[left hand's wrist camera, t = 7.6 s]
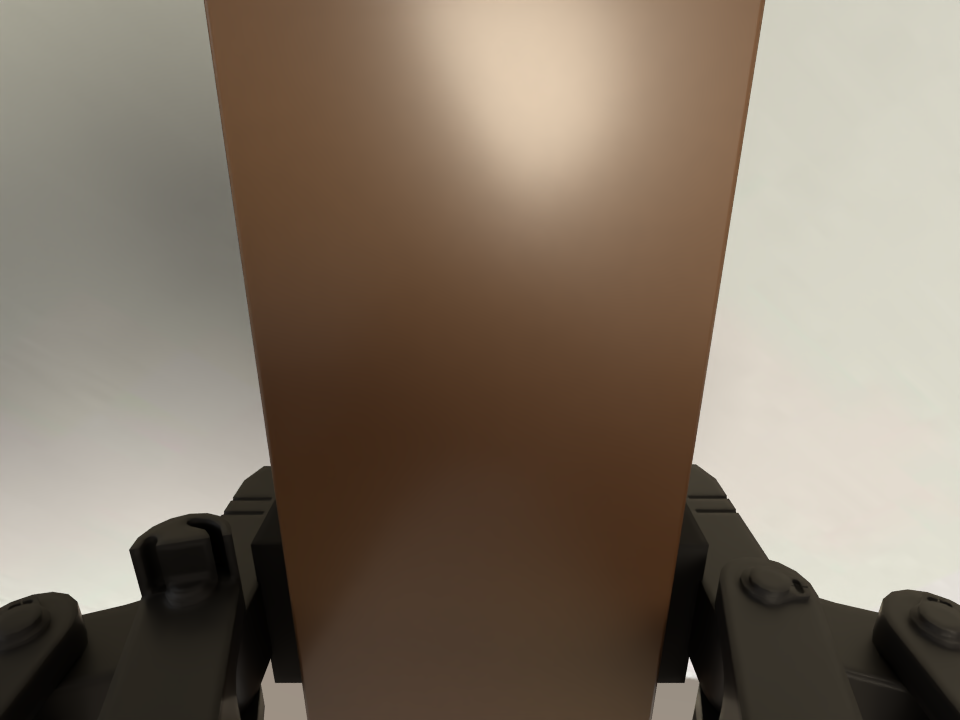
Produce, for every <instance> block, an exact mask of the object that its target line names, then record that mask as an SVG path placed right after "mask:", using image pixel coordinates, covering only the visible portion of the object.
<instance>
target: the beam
mask: <svg viewBox="0 0 960 720" xmlns="http://www.w3.org/2000/svg"><path fill="white" fill-rule="evenodd" d="M204 4H205V11H206V18H207V25H208V32H209V39H210V46H211V53H212V60H213V67H214V74H215V81H216V88H217V95H218V102H219V109H220V115H221V122H222V129H223V136H224V143H225V150H226V157H227V164H228V171H229V178H230V185H231V192H232V199H233V206H234V213H235V220H236V227H237V234H238V241H239V247H240V254H241V261H242V268H243V275H244V282H245V289H246V296H247V303H248V310H249V317H250V324H251V331H252V338H253V345H254V352H255V359H256V366H257V373H258V379H259V386H260V393H261V400H262V407H263V414H264V421H265V428H266V435H267V442H268V449H269V456H270V463H271V470H272V477H273V484H274V491H275V498H276V505H277V511H278V518H279V525H280V532H281V539H282V546H283V553H284V560H285V567H286V574H287V581H288V588H289V595H290V602H291V609H292V616H293V623H294V630H295V637H296V643H297V650H298V657H299V664H300V671H301V678H302V685H303V692H304V699H305V706H306V713H307V720H651V719H652V712H653V706H654V700H655V693H656V687H657V681H658V675H659V668H660V662H661V656H662V649H663V643H664V637H665V630H666V624H667V618H668V611H669V605H670V599H671V592H672V586H673V580H674V573H675V567H676V561H677V555H678V548H679V542H680V536H681V529H682V523H683V517H684V510H685V504H686V498H687V491H688V485H689V479H690V472H691V466H692V460H693V453H694V447H695V441H696V434H697V428H698V422H699V416H700V409H701V403H702V397H703V390H704V384H705V378H706V371H707V365H708V359H709V352H710V346H711V340H712V333H713V327H714V321H715V314H716V308H717V302H718V295H719V289H720V283H721V276H722V270H723V264H724V258H725V251H726V245H727V239H728V232H729V226H730V220H731V213H732V207H733V201H734V194H735V188H736V182H737V175H738V169H739V163H740V156H741V150H742V144H743V137H744V131H745V125H746V119H747V112H748V106H749V100H750V93H751V87H752V81H753V74H754V68H755V62H756V55H757V49H758V43H759V36H760V30H761V24H762V17H763V11H764V5H765V0H204Z"/></svg>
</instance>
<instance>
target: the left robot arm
mask: <svg viewBox="0 0 960 720" xmlns="http://www.w3.org/2000/svg"><path fill="white" fill-rule="evenodd" d="M129 551H130V555H131V558H132V562H133V566H134V569H135V573H136V577H137V580H138V584H139V588H140V591H141V595H142V598H141V600H140V601H137V602H134V603H130V604H127V605H123V606H119V607H115V608H110V609H106V610H101V611H97V612H93V613H88V614H84V615H81V611H80V608H79V605H78V602H77V601H76V600H75V599H73V598H72V597H71V596H70V595H69V594H63V593H56V592H49V593H42V594H34V595H31V596H28V597H25V598H22V599H19V600H16V601H13V602H10V603H9V604H7V605H5V606H3V607H1V608H0V720H264V708H265V706H264V699H263V693H262V688H261V682H262V679H263V677H264V674H265V672H266V669H267V666H268V664H269V661H270V659H271V662H272V668H273V674H274V679H275V683H302V678H301V671H300V664H299V657H298V650H297V643H296V637H295V630H294V623H293V616H292V609H291V602H290V595H289V588H288V581H287V574H286V567H285V560H284V553H283V546H282V539H281V532H280V525H279V518H278V511H277V505H276V498H275V491H274V484H273V477H272V470H271V466H264V467H262V468H261V469H259V470H258V471H257V472H255V473H254V474H253V475H251V476H250V477H249V478H247V479H246V480H244V482H243V483H242V485H241V486H240V488H239V489H238V491H237V492H236V494H235V495H234V497H233V501H231V502H230V503H229V505H228V506H227V508H226V509H225V511H224V515H221V516H217V515H213V514H209V513H200V514H187V515H183V516H179V517H175V518H171V519H169V520H167V521H164V522H162V523H160V524H158V525H156V526H153V527H152V528H151V529H149V530H148V531H146V532H145V533H144V534H142V535H141V536H140V537H138V538H137V540H136V541H135V543H134V544H133V545H132V547H131V548H130V549H129ZM689 657H690V660H691V662H692V665H693V667H694V670H695V672H696V675H697V678H698V680H699V688H698V693H697V698H696V704H695V709H694V714H693V719H692V720H960V605H958V604H957V603H955V602H953V601H951V600H949V599H946V598H943V597H940V596H937V595H934V594H931V593H928V592H922V591H915V590H908V589H907V590H901V591H894V592H891V593H890V594H889V595H887V596H886V597H885V598H884V599H883V601H882V604H881V607H880V610H879V613H878V612H873V611H869V610H864V609H860V608H856V607H851V606H847V605H843V604H838V603H834V602H831V601H828V600H824V599H821V598H819V597H818V595H817V593H816V592H815V590H814V589H813V587H812V585H811V584H810V583H809V582H808V581H807V580H806V579H805V578H803V577H802V576H801V575H800V574H799V573H797V572H796V571H794V570H792V569H790V568H788V567H787V566H785V565H783V564H781V563H779V562H775V561H771V560H769V559H768V557H767V556H766V554H765V553H764V551H763V550H762V548H761V547H760V545H759V544H758V542H757V541H756V539H755V538H754V536H753V535H752V533H751V532H750V530H749V529H748V527H747V526H746V524H745V523H744V521H743V520H742V518H741V516H740V515H739V513H736V509H735V507H734V506H733V504H732V503H731V501H730V500H729V499H727V495H726V494H725V492H724V491H723V489H722V488H721V486H720V485H719V483H718V482H717V480H716V479H715V478H714V477H712V476H711V475H710V474H708V473H707V472H706V471H704V470H703V469H701V468H700V467H699V466H697V465H696V464H692V466H691V472H690V479H689V485H688V491H687V498H686V504H685V510H684V517H683V523H682V529H681V536H680V542H679V548H678V555H677V561H676V567H675V573H674V580H673V586H672V592H671V599H670V605H669V611H668V618H667V624H666V630H665V637H664V643H663V649H662V656H661V662H660V668H659V675H658V681H657V683H684V682H685V677H686V671H687V666H688V660H689Z"/></svg>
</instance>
